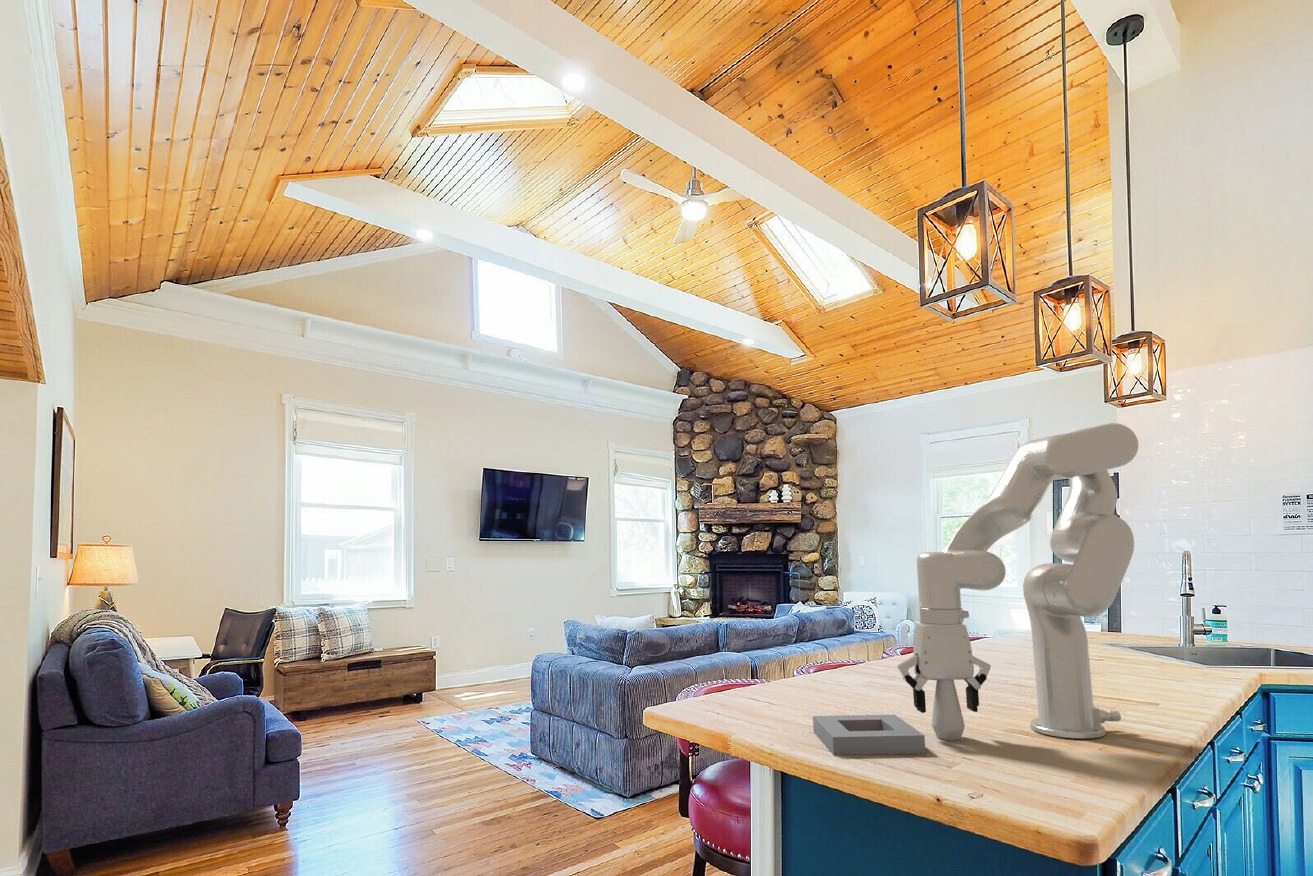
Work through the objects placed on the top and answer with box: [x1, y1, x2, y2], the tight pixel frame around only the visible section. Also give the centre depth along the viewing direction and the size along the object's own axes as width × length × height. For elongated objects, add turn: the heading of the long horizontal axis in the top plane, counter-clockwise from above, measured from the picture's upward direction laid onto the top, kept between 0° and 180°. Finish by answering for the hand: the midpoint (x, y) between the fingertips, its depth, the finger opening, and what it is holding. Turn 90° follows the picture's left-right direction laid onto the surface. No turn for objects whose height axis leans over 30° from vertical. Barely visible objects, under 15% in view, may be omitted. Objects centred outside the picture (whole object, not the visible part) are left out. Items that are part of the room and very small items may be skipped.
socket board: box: [812, 714, 926, 756], centre depth 139 cm, size 16×16×3 cm
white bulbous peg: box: [930, 677, 966, 742], centre depth 142 cm, size 6×6×13 cm
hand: (946, 710), depth 142 cm, fingers open, 9 cm apart
